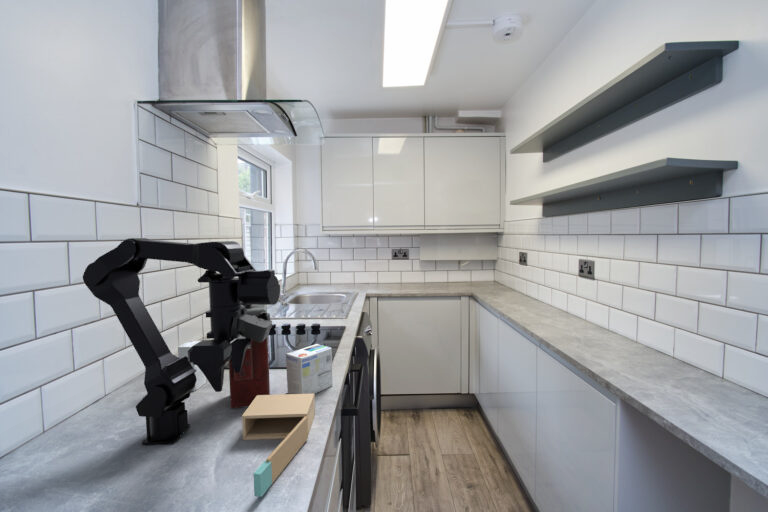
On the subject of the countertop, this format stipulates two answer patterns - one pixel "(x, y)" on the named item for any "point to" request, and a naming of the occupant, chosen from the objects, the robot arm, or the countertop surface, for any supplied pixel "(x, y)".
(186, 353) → the skincare box
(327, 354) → the light bulb box
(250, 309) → the toy vending machine
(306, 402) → the kraft carton
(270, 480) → the carton flap
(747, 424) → the countertop surface
